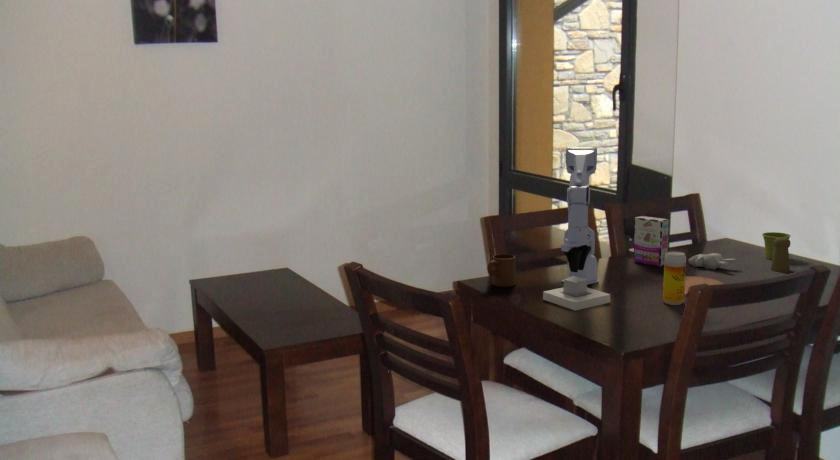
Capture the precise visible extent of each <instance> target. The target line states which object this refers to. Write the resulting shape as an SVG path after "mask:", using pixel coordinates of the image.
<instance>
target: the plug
mask: <svg viewBox="0 0 840 460" xmlns="http://www.w3.org/2000/svg"><path fill="white" fill-rule="evenodd" d="M563 280H564V282H563V287H564V289H563V294H567V295H569V296H573V297H581V296H584V294H586V293H587V287H588V285H587V279H584V278H580V277H576V276H571V277H569V278H567V277H566V278H564V279H563Z"/></svg>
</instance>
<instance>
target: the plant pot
mask: <svg viewBox="0 0 840 460" xmlns="http://www.w3.org/2000/svg"><path fill="white" fill-rule="evenodd" d="M761 236H762V237H763V240H764V241H763V242H764V248H765V249H764V251H765V252H764V253H765V258H766V259H767V260H772V259H773V255H774V250H775V246H774V240H775V239H776V238H787V239H789V240H790V238H791V236H792V235H791V234H788V233H784V232H778V231H777V232H769V231H768V232H763V233H762V235H761Z"/></svg>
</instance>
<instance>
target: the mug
mask: <svg viewBox="0 0 840 460" xmlns="http://www.w3.org/2000/svg"><path fill="white" fill-rule="evenodd" d="M516 268H517V262H516V256H515V255H513V254H510V253H499V254H493V255H492V260H491V261H489V262H488V264H487V268H486V269H487V273H488V274H489V276H491V277H492V279H491V280H492V284H493V286H495V287H499V288H510V287H513V286H515V285H516V279H517V276H516V275H517V269H516Z"/></svg>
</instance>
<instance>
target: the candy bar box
mask: <svg viewBox="0 0 840 460" xmlns="http://www.w3.org/2000/svg"><path fill="white" fill-rule="evenodd" d="M669 230H670V219H669V218H663V217H662V218H661V217H654V216H646V215H639V216H635V217H634V234H633V235H634V237H633V263H636V262H637V264H642V263H643V264H642V265H647V264H648V266H654V267H659V268H661V267H664V260H665V255H666V253H667V252H669Z"/></svg>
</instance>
